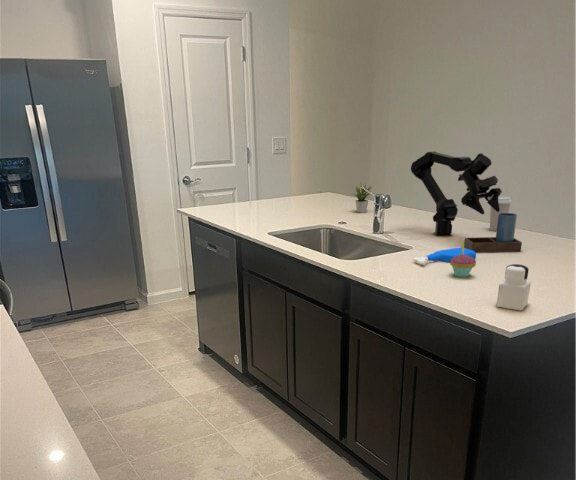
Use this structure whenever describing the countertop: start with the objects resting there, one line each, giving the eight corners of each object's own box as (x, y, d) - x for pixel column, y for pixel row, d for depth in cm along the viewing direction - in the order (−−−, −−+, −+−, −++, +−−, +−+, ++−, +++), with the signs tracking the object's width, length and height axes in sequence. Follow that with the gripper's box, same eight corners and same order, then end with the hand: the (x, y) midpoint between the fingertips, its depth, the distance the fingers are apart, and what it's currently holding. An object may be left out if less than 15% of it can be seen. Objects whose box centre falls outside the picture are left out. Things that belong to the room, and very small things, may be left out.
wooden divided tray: (471, 252, 219) (472, 243, 218) (463, 246, 229) (464, 237, 227) (520, 251, 219) (522, 242, 218) (510, 245, 229) (512, 236, 227)
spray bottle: (460, 246, 217) (408, 254, 208) (479, 252, 207) (425, 260, 199) (459, 253, 218) (407, 261, 210) (478, 259, 209) (425, 268, 200)
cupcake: (445, 272, 194) (448, 238, 190) (468, 271, 195) (472, 237, 190) (454, 279, 186) (458, 244, 182) (478, 278, 187) (482, 243, 182)
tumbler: (494, 247, 222) (498, 215, 217) (494, 244, 228) (498, 212, 223) (512, 248, 219) (517, 216, 214) (512, 245, 225) (516, 213, 220)
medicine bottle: (502, 300, 166) (508, 261, 161) (527, 304, 162) (533, 264, 157) (496, 306, 160) (501, 267, 156) (521, 311, 156) (527, 270, 152)
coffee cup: (507, 228, 261) (512, 196, 255) (508, 232, 252) (512, 199, 247) (486, 227, 264) (490, 195, 258) (486, 231, 255) (490, 198, 250)
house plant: (376, 214, 301) (378, 183, 295) (351, 214, 301) (352, 184, 295) (373, 209, 314) (374, 180, 308) (349, 210, 314) (350, 181, 308)
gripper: (469, 171, 218) (488, 202, 214) (501, 167, 227) (520, 198, 223) (452, 189, 228) (470, 219, 223) (483, 185, 237) (501, 214, 232)
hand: (491, 212), depth 225 cm, fingers open, 9 cm apart
